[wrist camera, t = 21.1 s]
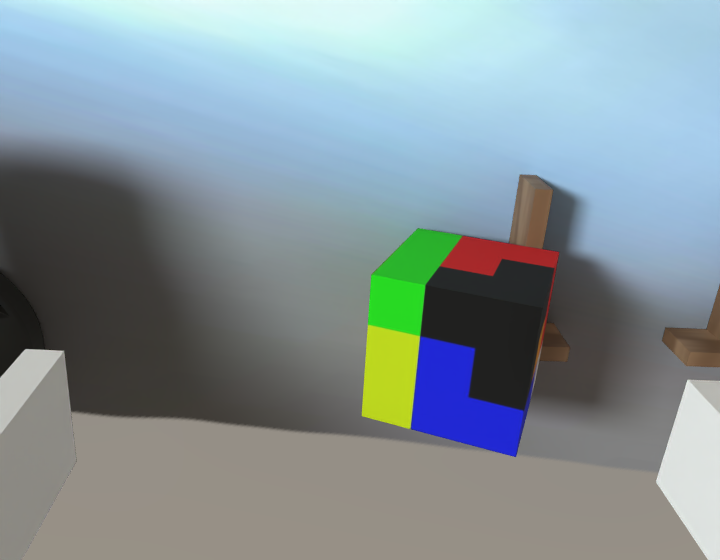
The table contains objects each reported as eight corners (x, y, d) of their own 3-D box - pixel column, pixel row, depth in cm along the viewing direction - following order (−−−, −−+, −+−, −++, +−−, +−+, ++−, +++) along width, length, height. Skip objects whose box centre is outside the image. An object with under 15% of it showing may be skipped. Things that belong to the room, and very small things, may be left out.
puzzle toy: (535, 378, 49) (515, 456, 40) (406, 349, 52) (361, 416, 43) (559, 251, 45) (542, 307, 36) (417, 228, 48) (371, 274, 39)
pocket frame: (494, 334, 53) (506, 359, 49) (519, 174, 48) (535, 189, 44) (716, 342, 54) (744, 368, 50) (764, 187, 49) (800, 202, 45)
